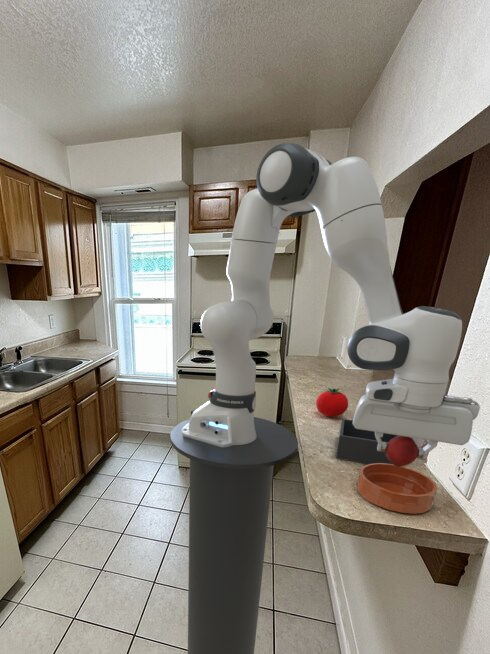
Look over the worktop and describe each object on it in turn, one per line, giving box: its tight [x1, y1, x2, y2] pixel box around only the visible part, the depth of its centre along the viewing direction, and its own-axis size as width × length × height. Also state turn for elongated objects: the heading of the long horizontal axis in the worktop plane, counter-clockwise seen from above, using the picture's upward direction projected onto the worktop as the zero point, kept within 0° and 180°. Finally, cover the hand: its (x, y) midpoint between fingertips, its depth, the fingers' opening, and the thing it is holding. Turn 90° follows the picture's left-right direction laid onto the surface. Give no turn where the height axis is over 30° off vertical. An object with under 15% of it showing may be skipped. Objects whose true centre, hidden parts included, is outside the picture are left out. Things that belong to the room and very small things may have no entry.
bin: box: [335, 418, 399, 465], centre depth 98 cm, size 15×15×7 cm
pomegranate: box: [385, 436, 418, 467], centre depth 75 cm, size 6×6×8 cm
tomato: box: [315, 387, 349, 418], centre depth 125 cm, size 10×10×10 cm
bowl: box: [356, 463, 438, 515], centre depth 78 cm, size 14×14×4 cm
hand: (400, 454), depth 75 cm, fingers closed on pomegranate, 6 cm apart
